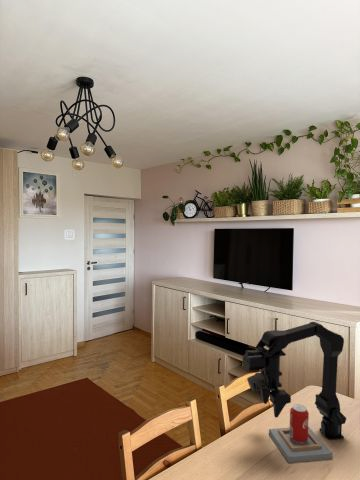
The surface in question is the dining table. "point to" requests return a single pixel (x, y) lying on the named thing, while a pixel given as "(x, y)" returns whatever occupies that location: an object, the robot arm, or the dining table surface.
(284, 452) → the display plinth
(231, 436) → the dining table surface
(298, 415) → the beverage can
